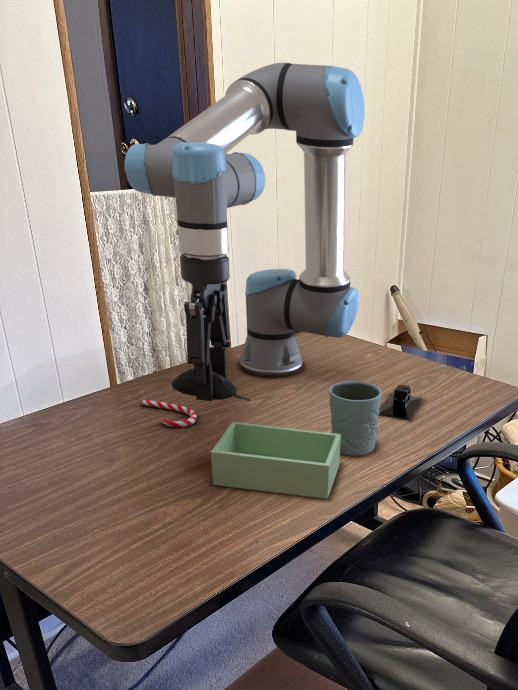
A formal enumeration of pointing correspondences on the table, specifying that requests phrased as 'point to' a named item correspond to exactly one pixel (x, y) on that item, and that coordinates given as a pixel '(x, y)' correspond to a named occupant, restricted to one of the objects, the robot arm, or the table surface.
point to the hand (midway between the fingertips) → (212, 391)
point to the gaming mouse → (220, 384)
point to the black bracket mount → (401, 403)
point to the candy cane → (175, 408)
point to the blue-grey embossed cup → (355, 415)
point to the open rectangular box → (276, 459)
